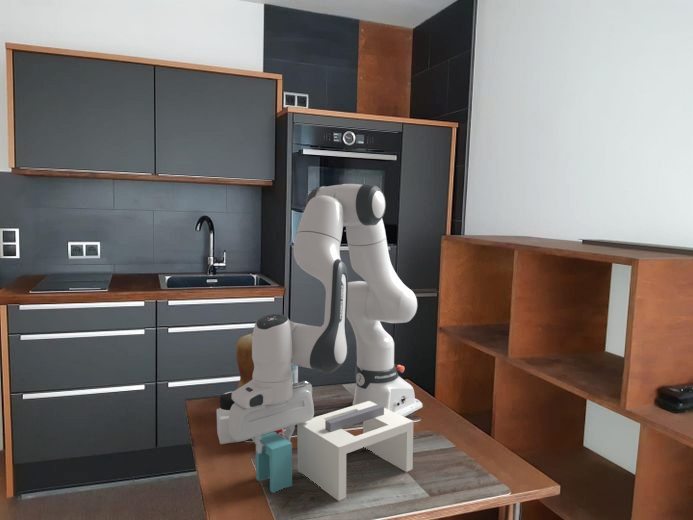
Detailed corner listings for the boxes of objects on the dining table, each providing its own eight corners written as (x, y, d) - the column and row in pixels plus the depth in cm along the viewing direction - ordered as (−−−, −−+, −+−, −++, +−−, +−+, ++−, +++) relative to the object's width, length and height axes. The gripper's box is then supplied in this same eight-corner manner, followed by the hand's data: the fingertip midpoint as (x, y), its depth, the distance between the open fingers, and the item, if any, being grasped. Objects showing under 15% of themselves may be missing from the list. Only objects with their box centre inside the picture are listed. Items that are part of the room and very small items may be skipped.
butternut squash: (236, 408, 166) (234, 328, 163) (280, 405, 169) (279, 326, 166) (237, 427, 153) (236, 340, 150) (285, 423, 156) (285, 337, 153)
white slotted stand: (368, 445, 142) (369, 393, 141) (412, 469, 130) (413, 412, 128) (297, 471, 129) (297, 414, 127) (338, 501, 117) (338, 438, 115)
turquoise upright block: (275, 472, 128) (274, 431, 127) (292, 485, 123) (291, 443, 121) (256, 479, 125) (255, 437, 124) (272, 493, 120) (272, 449, 118)
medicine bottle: (247, 440, 145) (246, 397, 143) (220, 444, 142) (219, 400, 141) (243, 429, 151) (242, 388, 150) (217, 433, 149) (215, 391, 148)
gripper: (304, 375, 130) (304, 431, 132) (224, 394, 118) (226, 455, 119) (319, 382, 125) (319, 440, 127) (238, 403, 113) (239, 467, 114)
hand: (273, 448), depth 123 cm, fingers closed on turquoise upright block, 5 cm apart
